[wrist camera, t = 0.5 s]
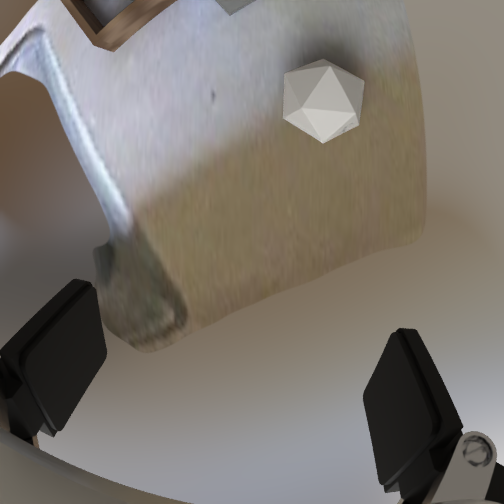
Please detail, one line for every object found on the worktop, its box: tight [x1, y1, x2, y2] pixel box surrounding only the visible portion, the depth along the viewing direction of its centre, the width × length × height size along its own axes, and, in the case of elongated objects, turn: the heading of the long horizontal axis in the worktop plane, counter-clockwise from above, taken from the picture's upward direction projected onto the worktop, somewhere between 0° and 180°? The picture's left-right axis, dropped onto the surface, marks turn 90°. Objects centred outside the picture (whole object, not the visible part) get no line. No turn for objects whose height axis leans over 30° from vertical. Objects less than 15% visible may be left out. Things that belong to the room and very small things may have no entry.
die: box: [283, 59, 365, 143], centre depth 29 cm, size 8×9×10 cm
